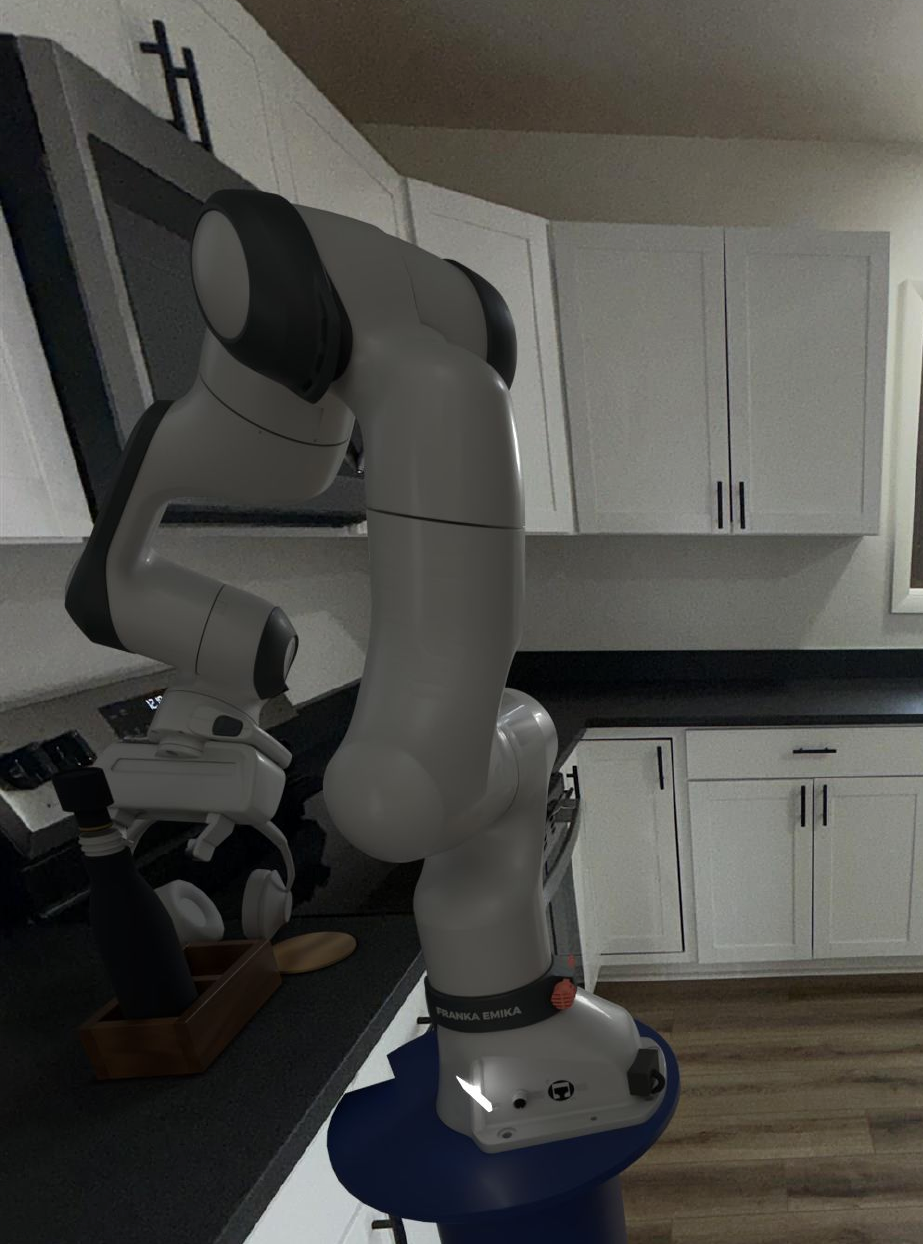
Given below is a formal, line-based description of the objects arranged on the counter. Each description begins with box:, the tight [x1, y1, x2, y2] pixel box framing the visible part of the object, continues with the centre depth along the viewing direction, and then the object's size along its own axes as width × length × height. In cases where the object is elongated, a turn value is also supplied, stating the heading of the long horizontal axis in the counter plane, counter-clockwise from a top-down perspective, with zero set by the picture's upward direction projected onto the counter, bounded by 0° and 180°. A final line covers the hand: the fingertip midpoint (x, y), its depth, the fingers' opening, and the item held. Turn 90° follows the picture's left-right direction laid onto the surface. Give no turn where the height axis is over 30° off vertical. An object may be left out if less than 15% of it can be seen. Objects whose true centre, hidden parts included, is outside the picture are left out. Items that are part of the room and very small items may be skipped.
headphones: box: [126, 819, 296, 943], centre depth 108 cm, size 19×9×20 cm, turn 108°
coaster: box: [272, 931, 357, 975], centre depth 110 cm, size 11×11×1 cm
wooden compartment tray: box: [76, 938, 283, 1081], centre depth 93 cm, size 10×19×6 cm, turn 7°
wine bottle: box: [49, 766, 199, 1020], centre depth 84 cm, size 6×6×30 cm
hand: (154, 856), depth 86 cm, fingers open, 8 cm apart
